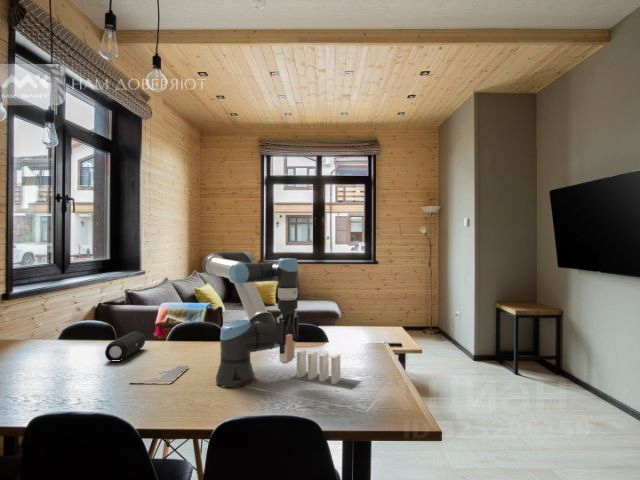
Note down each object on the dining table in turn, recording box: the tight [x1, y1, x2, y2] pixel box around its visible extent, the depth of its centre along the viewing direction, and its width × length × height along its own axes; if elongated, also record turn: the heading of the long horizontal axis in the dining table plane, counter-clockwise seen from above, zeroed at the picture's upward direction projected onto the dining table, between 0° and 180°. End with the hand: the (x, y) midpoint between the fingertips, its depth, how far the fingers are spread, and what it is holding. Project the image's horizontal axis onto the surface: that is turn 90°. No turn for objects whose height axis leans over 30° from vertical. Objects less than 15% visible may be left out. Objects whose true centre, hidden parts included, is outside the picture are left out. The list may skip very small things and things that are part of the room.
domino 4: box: [330, 353, 341, 384], centre depth 151 cm, size 2×5×10 cm, turn 152°
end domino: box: [281, 333, 294, 365], centre depth 147 cm, size 2×5×10 cm, turn 152°
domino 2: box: [307, 350, 318, 380], centre depth 156 cm, size 2×5×10 cm, turn 152°
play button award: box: [138, 365, 190, 382], centre depth 160 cm, size 16×2×20 cm
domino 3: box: [318, 352, 330, 382], centre depth 154 cm, size 2×5×10 cm, turn 152°
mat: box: [290, 371, 362, 391], centre depth 153 cm, size 27×10×1 cm, turn 62°
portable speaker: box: [104, 330, 146, 361], centre depth 190 cm, size 26×10×10 cm, turn 3°
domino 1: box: [296, 349, 307, 378], centre depth 159 cm, size 2×5×10 cm, turn 152°
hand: (287, 359), depth 147 cm, fingers closed on end domino, 5 cm apart
